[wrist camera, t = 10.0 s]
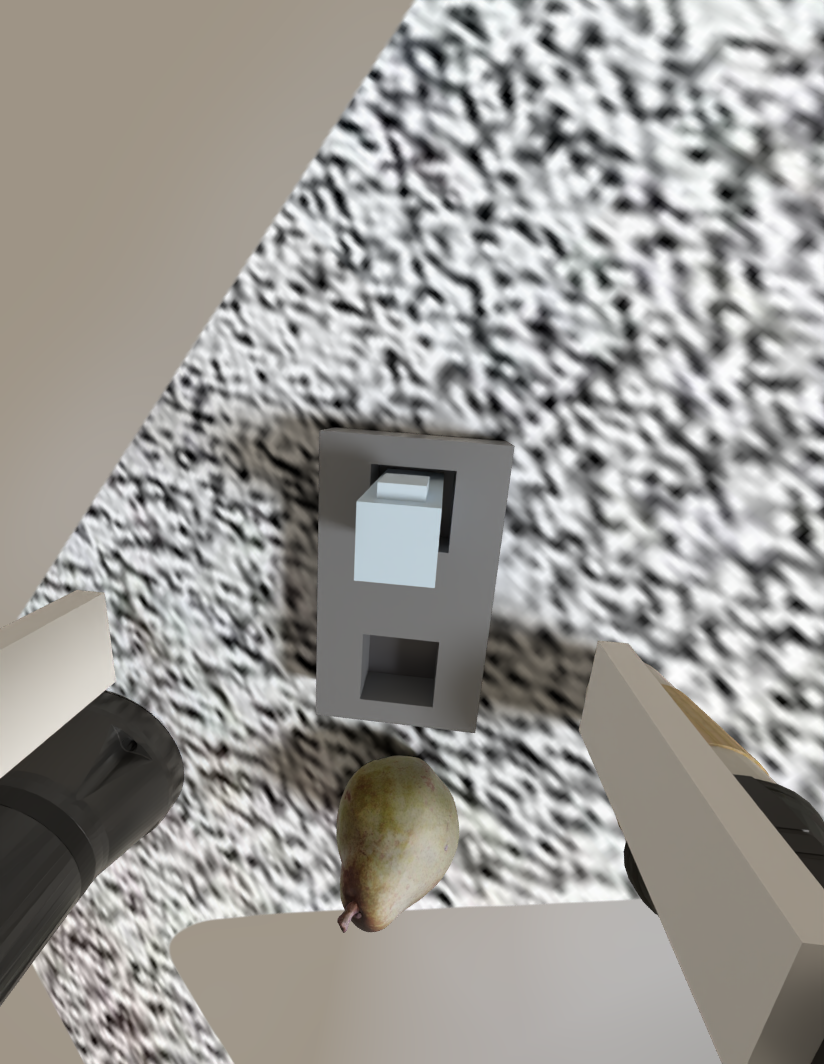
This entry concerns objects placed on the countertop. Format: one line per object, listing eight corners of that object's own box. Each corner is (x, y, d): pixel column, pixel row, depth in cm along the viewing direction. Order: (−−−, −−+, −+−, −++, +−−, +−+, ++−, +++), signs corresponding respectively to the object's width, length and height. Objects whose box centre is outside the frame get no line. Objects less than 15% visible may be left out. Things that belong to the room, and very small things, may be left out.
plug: (384, 523, 32) (353, 580, 22) (388, 457, 31) (357, 484, 20) (439, 527, 32) (434, 588, 21) (445, 461, 31) (443, 491, 20)
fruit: (332, 749, 39) (283, 892, 27) (428, 715, 37) (419, 854, 26) (383, 833, 41) (358, 998, 30) (476, 805, 39) (488, 969, 28)
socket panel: (329, 682, 37) (315, 714, 33) (335, 427, 31) (319, 430, 27) (472, 698, 36) (475, 733, 32) (506, 441, 30) (514, 446, 27)
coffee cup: (538, 679, 35) (599, 867, 21) (650, 616, 33) (804, 777, 19) (602, 763, 37) (700, 990, 23) (713, 708, 35) (899, 921, 20)
